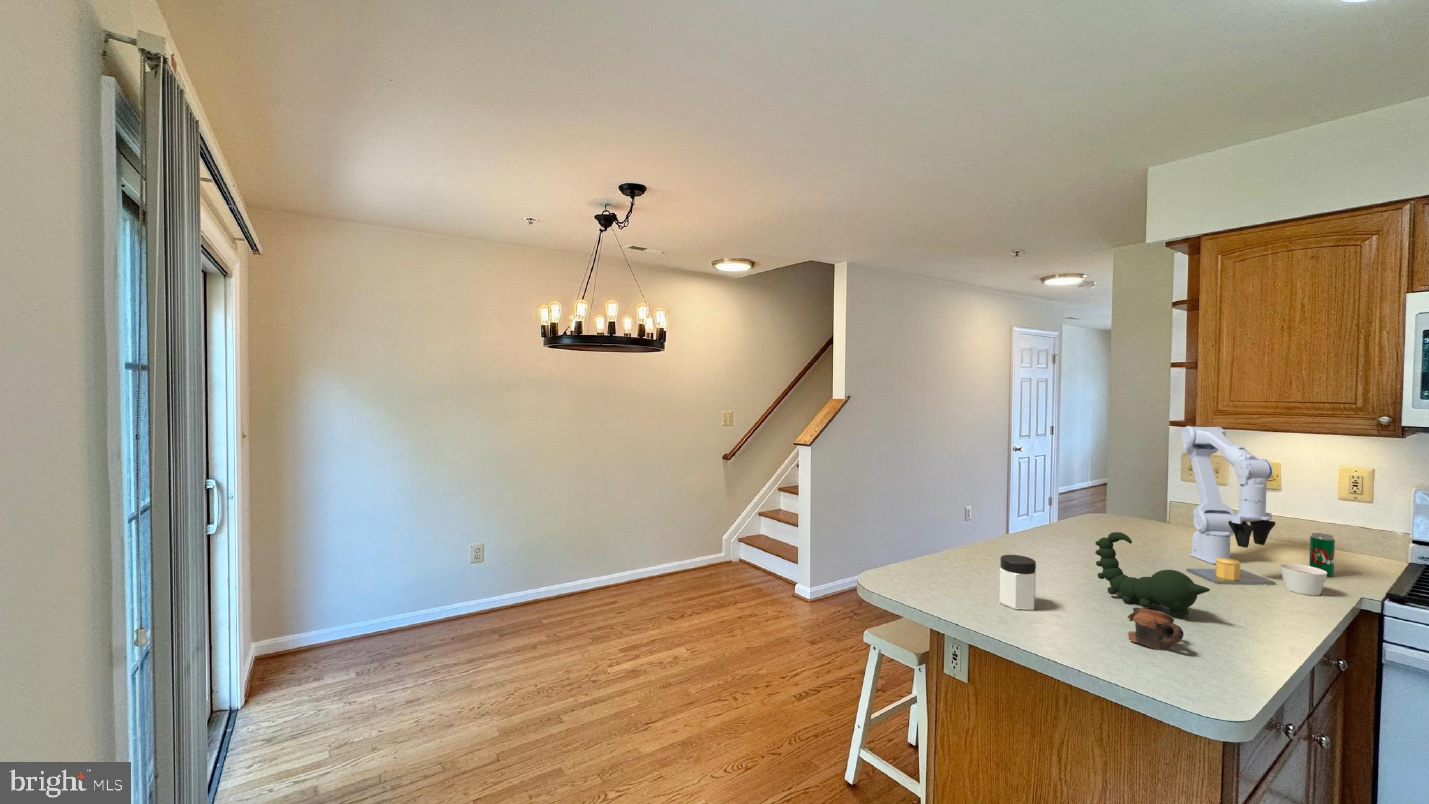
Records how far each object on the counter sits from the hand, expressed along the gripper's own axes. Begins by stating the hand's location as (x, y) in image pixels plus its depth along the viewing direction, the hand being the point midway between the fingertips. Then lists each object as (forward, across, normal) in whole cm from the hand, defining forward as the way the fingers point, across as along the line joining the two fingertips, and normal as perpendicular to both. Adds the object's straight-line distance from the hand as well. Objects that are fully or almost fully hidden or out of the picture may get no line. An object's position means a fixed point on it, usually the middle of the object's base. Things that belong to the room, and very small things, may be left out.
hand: (1251, 545), depth 165 cm
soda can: (+10, +24, -5) cm, 26 cm away
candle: (+10, 0, -12) cm, 15 cm away
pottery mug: (+10, -70, -20) cm, 74 cm away
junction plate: (+10, -6, +2) cm, 11 cm away
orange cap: (+9, -8, +1) cm, 12 cm away
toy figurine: (+10, -51, -6) cm, 52 cm away
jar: (+10, -82, +7) cm, 82 cm away
